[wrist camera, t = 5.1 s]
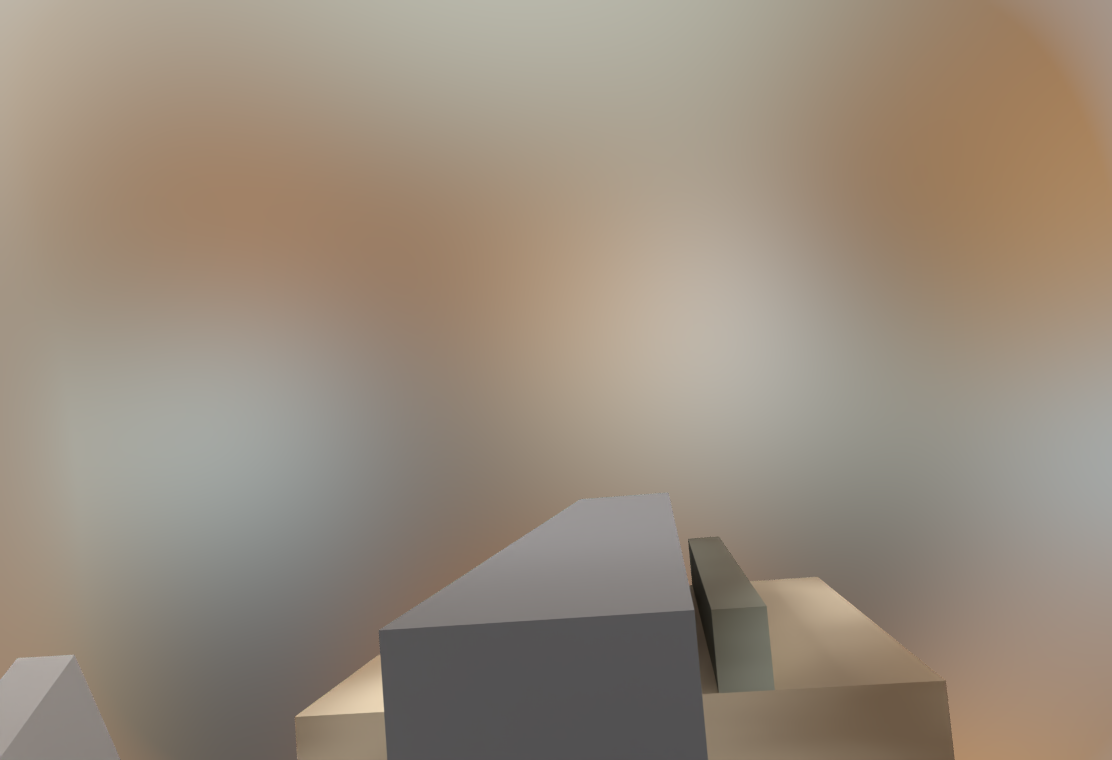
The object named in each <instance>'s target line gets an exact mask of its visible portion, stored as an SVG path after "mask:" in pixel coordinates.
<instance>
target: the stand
mask: <svg viewBox="0 0 1112 760" xmlns="http://www.w3.org/2000/svg"><path fill="white" fill-rule="evenodd" d="M688 542H689V553H690V565H691V576H692V585H689V588H690V592H691V597H692V601H693V606H694V610H695V621H696V632H697V643H698V654H699V665H700V676H701V688H702V699H703V710H704V721H705V732H706V743H707V754H708V760H955V759H954V750H953V741H952V733H951V723H950V714H949V706H948V696H947V687H946V681H945V680H944V679H943V678H942V677H941V676H940V675H938V674H937V673H936V672H935V671H933V670H932V669H931V668H929V667H928V666H927V665H926V664H925V663H923V662H922V661H921V660H920V659H918V658H917V657H916V656H915V655H913V654H912V653H911V652H910V651H909V650H907V649H906V648H905V647H904V646H902V645H901V644H900V643H898V642H897V641H896V640H895V639H894V638H892V637H891V636H890V635H889V634H888V633H886V632H885V631H884V630H882V629H881V628H880V627H879V626H878V625H876V624H875V623H874V622H873V621H871V620H870V619H869V618H868V617H866V616H865V615H864V614H863V613H862V612H860V611H859V610H858V609H856V608H855V607H854V606H853V605H852V604H850V603H849V602H848V601H846V600H845V599H844V598H843V597H842V596H840V595H839V594H838V593H837V592H836V591H834V590H833V589H832V588H830V587H829V586H828V585H827V584H826V583H824V582H823V581H822V580H821V579H819V578H818V577H808V578H794V579H778V580H763V581H749V580H748V578H747V577H746V575H745V574H744V573H743V571H742V569H741V568H740V567H739V565H738V564H737V562H736V561H735V559H734V558H733V556H732V555H731V553H730V552H729V551H728V549H727V548H726V546H725V545H724V543H723V542H722V540H721V539H720V537H707V538H694V539H688ZM295 729H296V747H297V760H387V749H386V733H385V718H384V703H383V687H382V672H381V656H380V654H379V655H378V656H377V657H375V658H374V659H373V660H371V661H370V662H368V663H367V664H366V665H364V666H363V667H362V668H360V669H359V670H358V671H356V672H355V673H354V674H352V675H351V676H350V677H348V678H347V679H346V680H344V681H343V682H341V683H340V684H339V685H337V686H336V687H335V688H333V689H332V690H331V691H329V692H328V693H327V694H325V695H324V696H323V697H321V698H320V699H318V700H317V701H316V702H314V703H313V704H312V705H310V706H309V707H308V708H306V709H305V710H303V711H302V712H301V713H299V714H298V715H297V716H295Z"/></svg>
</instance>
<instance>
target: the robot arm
mask: <svg viewBox="0 0 1112 760" xmlns="http://www.w3.org/2000/svg"><path fill="white" fill-rule="evenodd" d="M0 760H120V758H119V755H118V753H117V751H116V748H115V746H114V744H113V742H112V739H111V737H110V735H109V733H108V730H107V728H106V726H105V724H104V721H103V719H102V717H101V714H100V712H99V710H98V707H97V705H96V703H95V701H94V699H93V696H92V694H91V691H90V690H89V687H88V685H87V682H86V680H85V678H84V675H83V673H82V671H81V669H80V666H79V664H78V662H77V660H76V657H75V655H64V656H47V657H32V658H31V657H30V658H17V659H16V661H15V662H14V663H13V664H12V666H11V667H10V668H9V669H8V671H7V672H6V673H5V674H4V676H3V677H2V678H1V680H0Z"/></svg>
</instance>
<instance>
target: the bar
mask: <svg viewBox="0 0 1112 760" xmlns="http://www.w3.org/2000/svg"><path fill="white" fill-rule="evenodd" d="M379 640H380V656H381V672H382V687H383V703H384V718H385V733H386V749H387V760H708V754H707V743H706V732H705V721H704V710H703V699H702V688H701V676H700V665H699V654H698V643H697V632H696V621H695V610H694V606H693V601H692V597H691V592H690V588H689V583H688V579H687V574H686V570H685V565H684V561H683V556H682V552H681V547H680V543H679V539H678V534H677V529H676V525H675V520H674V516H673V511H672V507H671V502H670V498H669V493H658V494H644V495H631V496H617V497H605V498H591V499H580V500H579V501H577V502H575V503H574V504H573V505H571V506H569V507H568V508H566V509H565V510H563V511H562V512H560V513H559V514H557V515H556V516H554V517H552V518H551V519H549V520H548V521H546V522H545V523H543V524H542V525H540V526H539V527H537V528H535V529H534V530H532V531H531V532H529V533H528V534H526V535H525V536H523V537H522V538H520V539H519V540H517V541H515V542H514V543H513V544H511V545H509V546H508V547H506V548H505V549H503V550H502V551H500V552H499V553H497V554H495V555H494V556H493V557H491V558H489V559H488V560H487V561H485V562H483V563H482V564H480V565H479V566H477V567H475V568H474V569H472V570H471V571H469V572H468V573H466V574H465V575H463V576H462V577H460V578H459V579H457V580H455V581H454V582H452V583H451V584H449V585H448V586H447V587H445V588H443V589H442V590H440V591H439V592H437V593H436V594H434V595H432V596H431V597H429V598H428V599H426V600H425V601H423V602H422V603H420V604H419V605H417V606H415V607H414V608H412V609H411V610H409V611H408V612H407V613H405V614H403V615H402V616H400V617H399V618H397V619H395V620H394V621H393V622H391V623H389V624H388V625H386V626H385V627H383V628H382V629H380V630H379Z"/></svg>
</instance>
